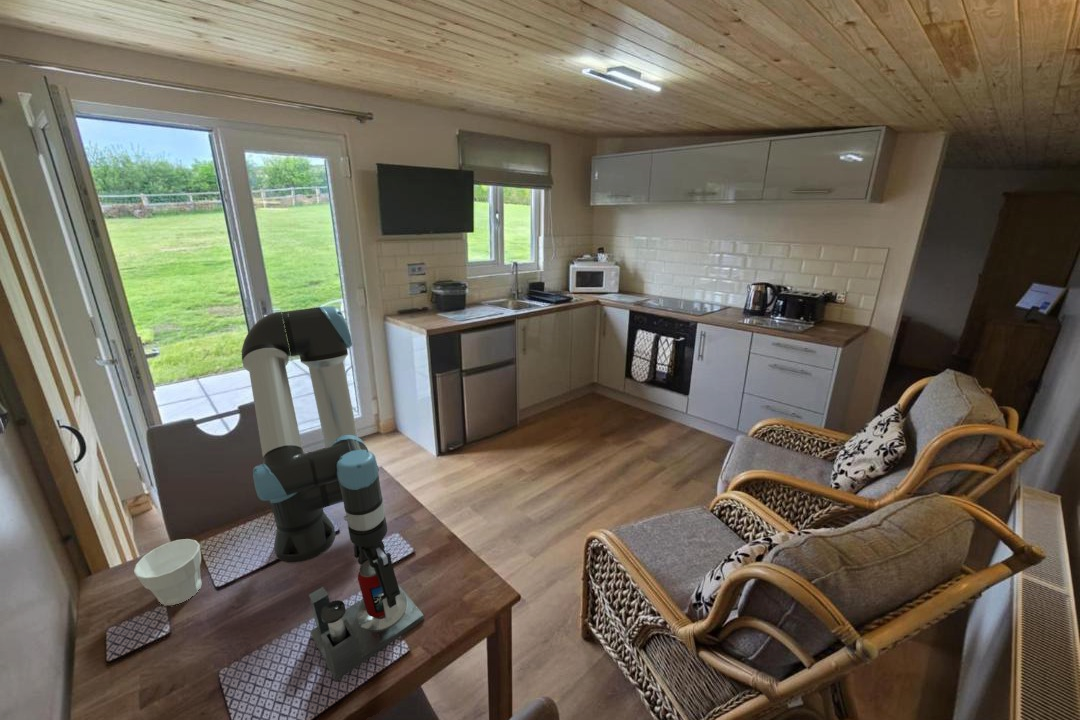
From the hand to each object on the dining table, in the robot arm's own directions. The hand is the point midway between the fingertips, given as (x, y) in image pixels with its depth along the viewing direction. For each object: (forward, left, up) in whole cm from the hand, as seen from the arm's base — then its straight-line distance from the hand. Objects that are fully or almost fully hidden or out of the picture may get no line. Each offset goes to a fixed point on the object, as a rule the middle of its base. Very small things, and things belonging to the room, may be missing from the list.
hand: (380, 599), depth 103 cm
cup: (-41, -33, -5) cm, 53 cm away
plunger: (+5, -11, +1) cm, 12 cm away
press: (+1, -4, -5) cm, 6 cm away
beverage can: (0, 0, -3) cm, 3 cm away
